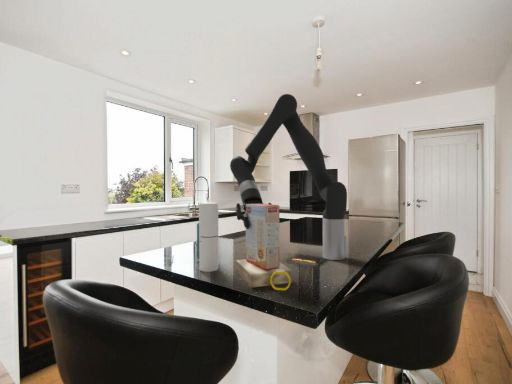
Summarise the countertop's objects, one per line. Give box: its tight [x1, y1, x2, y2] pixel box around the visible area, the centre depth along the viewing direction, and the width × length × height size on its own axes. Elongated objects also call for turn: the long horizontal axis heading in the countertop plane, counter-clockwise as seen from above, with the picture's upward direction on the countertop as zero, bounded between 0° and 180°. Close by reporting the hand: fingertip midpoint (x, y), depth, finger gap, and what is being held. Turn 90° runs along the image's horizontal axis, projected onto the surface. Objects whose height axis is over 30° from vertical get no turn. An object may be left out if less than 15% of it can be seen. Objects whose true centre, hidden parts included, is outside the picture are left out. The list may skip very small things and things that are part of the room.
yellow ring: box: [270, 269, 291, 291], centre depth 81 cm, size 6×3×6 cm, turn 80°
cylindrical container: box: [198, 202, 220, 273], centre depth 102 cm, size 7×7×25 cm
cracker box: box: [245, 203, 281, 270], centre depth 93 cm, size 14×6×21 cm, turn 30°
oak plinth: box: [235, 258, 293, 288], centre depth 93 cm, size 14×18×4 cm
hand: (260, 227), depth 95 cm, fingers open, 8 cm apart
